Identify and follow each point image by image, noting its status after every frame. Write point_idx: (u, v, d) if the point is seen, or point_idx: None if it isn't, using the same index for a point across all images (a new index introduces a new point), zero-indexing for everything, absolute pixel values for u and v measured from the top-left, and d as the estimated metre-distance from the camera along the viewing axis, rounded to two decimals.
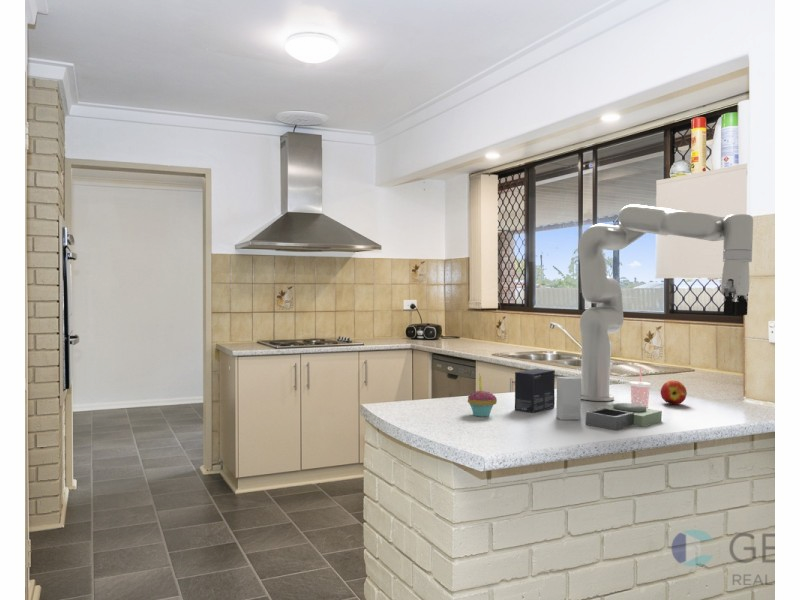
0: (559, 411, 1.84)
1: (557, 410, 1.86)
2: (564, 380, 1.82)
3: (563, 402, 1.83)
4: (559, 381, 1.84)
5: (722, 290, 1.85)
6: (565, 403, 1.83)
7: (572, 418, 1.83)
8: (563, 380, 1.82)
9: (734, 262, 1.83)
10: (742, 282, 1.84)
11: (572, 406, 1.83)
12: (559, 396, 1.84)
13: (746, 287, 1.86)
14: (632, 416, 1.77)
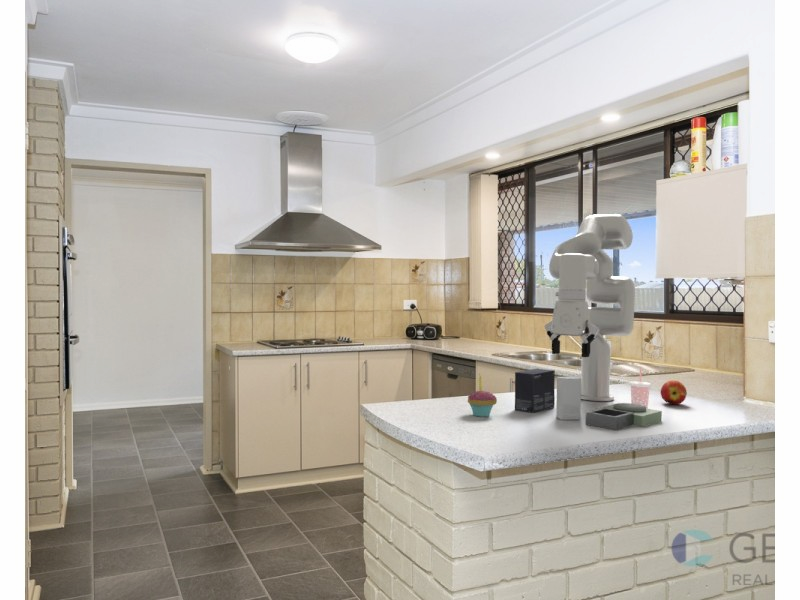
0: (559, 411, 1.84)
1: (557, 410, 1.86)
2: (564, 380, 1.82)
3: (563, 402, 1.83)
4: (559, 381, 1.84)
5: (582, 332, 1.79)
6: (565, 403, 1.83)
7: (572, 418, 1.83)
8: (563, 380, 1.82)
9: (586, 303, 1.82)
10: None
11: (572, 406, 1.83)
12: (559, 396, 1.84)
13: None
14: (632, 416, 1.77)
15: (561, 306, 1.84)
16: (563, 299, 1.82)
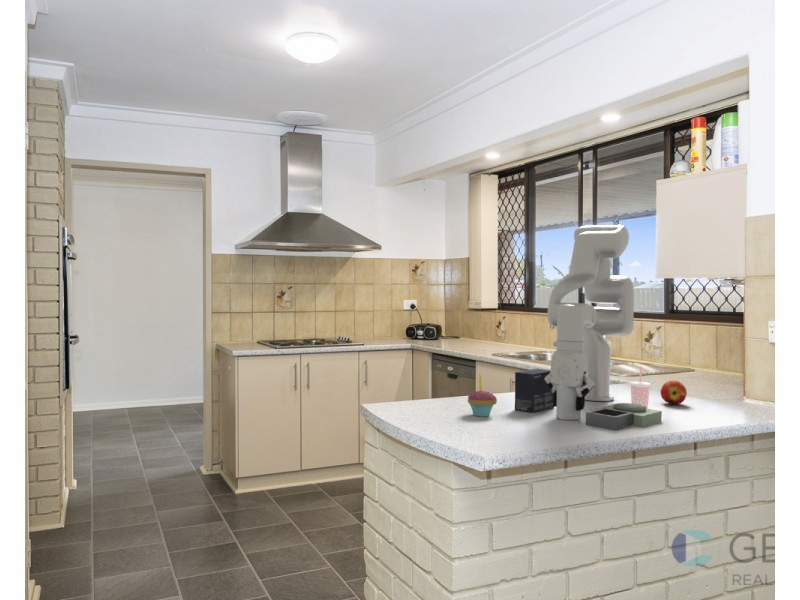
0: (559, 411, 1.84)
1: (557, 410, 1.86)
2: (564, 380, 1.82)
3: (563, 402, 1.83)
4: None
5: (580, 383, 1.80)
6: (565, 403, 1.83)
7: (572, 418, 1.83)
8: (563, 380, 1.82)
9: (584, 354, 1.82)
10: None
11: (572, 406, 1.83)
12: (559, 396, 1.84)
13: None
14: (632, 416, 1.77)
15: (559, 357, 1.84)
16: (561, 350, 1.82)
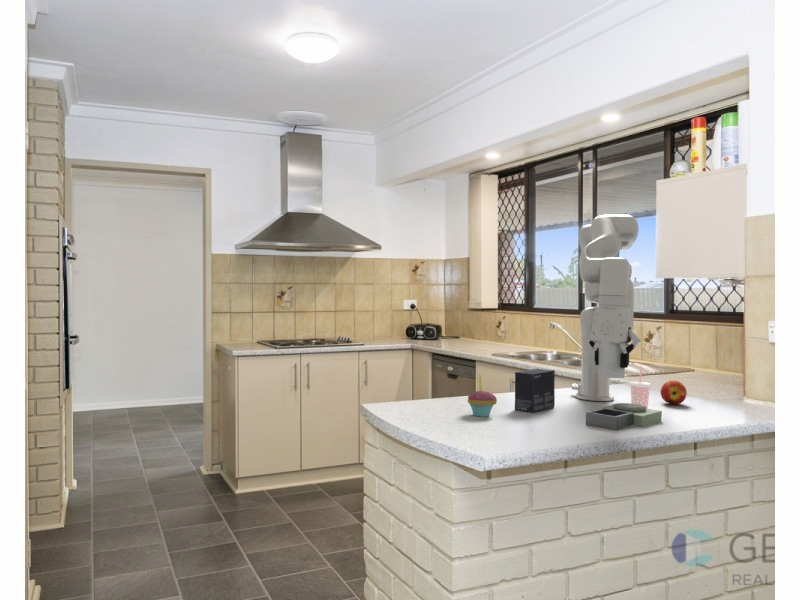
0: (602, 369, 1.76)
1: (600, 368, 1.78)
2: (607, 336, 1.75)
3: (606, 359, 1.75)
4: None
5: (625, 339, 1.72)
6: (609, 360, 1.75)
7: (616, 376, 1.76)
8: (606, 336, 1.75)
9: (629, 309, 1.74)
10: None
11: (616, 363, 1.75)
12: (601, 353, 1.77)
13: None
14: (632, 416, 1.77)
15: (602, 313, 1.76)
16: (604, 305, 1.75)
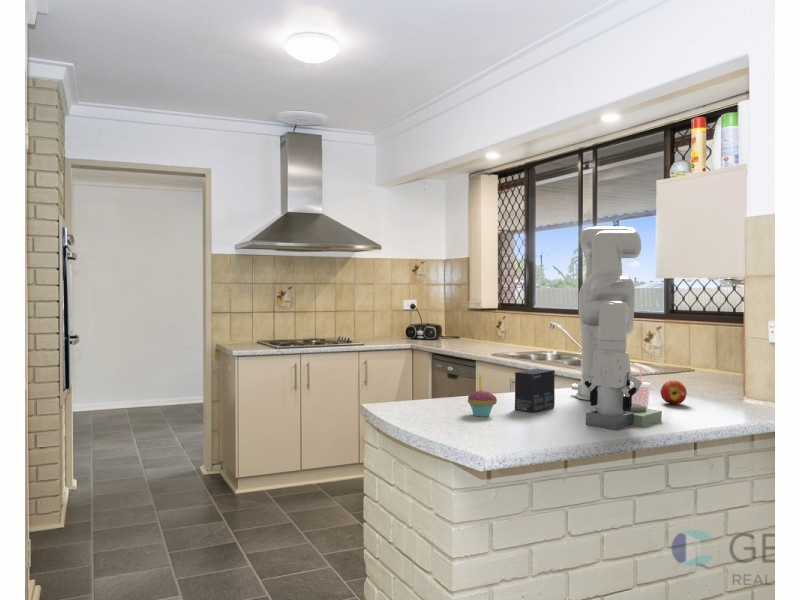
0: None
1: None
2: (606, 385, 1.75)
3: (605, 407, 1.75)
4: (601, 386, 1.77)
5: (623, 385, 1.72)
6: (608, 408, 1.76)
7: None
8: (605, 385, 1.75)
9: (627, 354, 1.75)
10: None
11: (615, 411, 1.76)
12: (600, 401, 1.77)
13: None
14: (632, 416, 1.77)
15: (600, 357, 1.77)
16: (603, 350, 1.75)
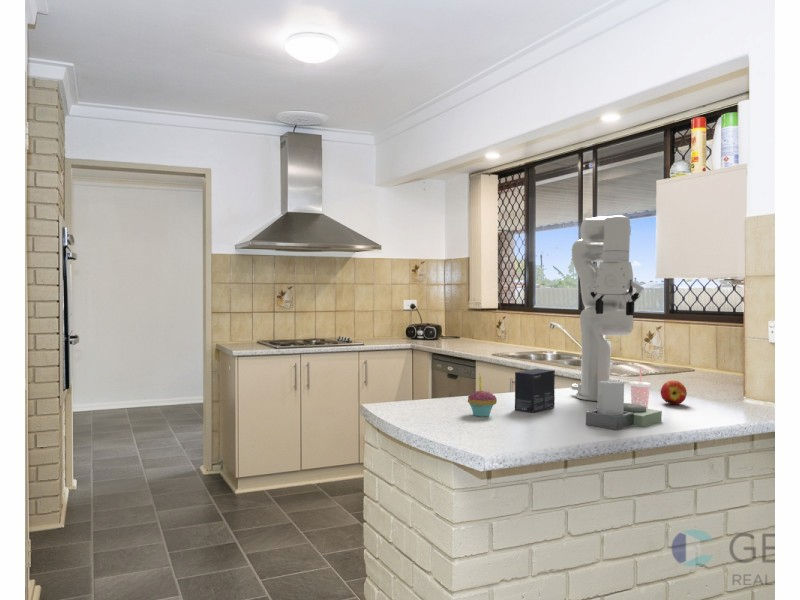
0: None
1: None
2: (606, 385, 1.75)
3: (605, 407, 1.75)
4: (601, 386, 1.77)
5: (626, 291, 1.87)
6: (608, 408, 1.76)
7: None
8: (605, 385, 1.75)
9: (630, 263, 1.89)
10: None
11: (615, 411, 1.76)
12: (600, 401, 1.77)
13: None
14: (632, 416, 1.77)
15: (605, 267, 1.91)
16: (608, 260, 1.89)
